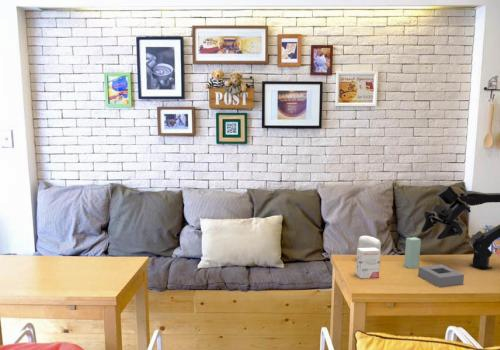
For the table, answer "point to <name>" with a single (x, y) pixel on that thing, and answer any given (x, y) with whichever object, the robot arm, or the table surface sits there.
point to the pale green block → (412, 252)
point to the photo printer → (369, 242)
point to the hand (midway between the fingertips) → (429, 235)
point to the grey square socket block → (441, 275)
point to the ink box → (368, 262)
